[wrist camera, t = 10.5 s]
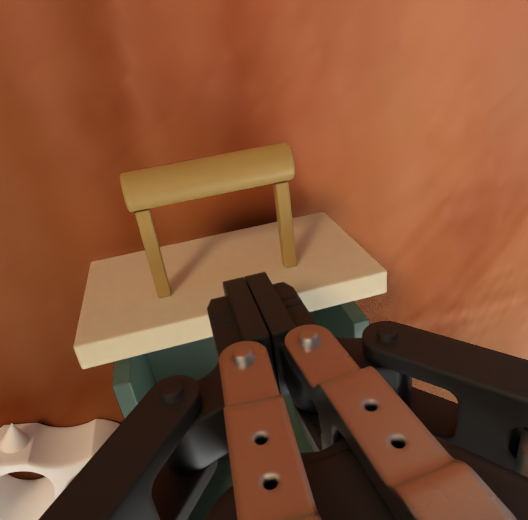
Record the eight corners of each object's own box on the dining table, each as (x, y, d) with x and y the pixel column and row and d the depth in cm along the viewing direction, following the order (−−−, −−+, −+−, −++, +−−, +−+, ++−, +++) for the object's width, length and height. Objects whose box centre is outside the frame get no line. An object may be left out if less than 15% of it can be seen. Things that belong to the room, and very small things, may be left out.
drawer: (54, 157, 22) (16, 212, 15) (317, 110, 24) (388, 139, 17) (163, 472, 33) (170, 586, 26) (337, 420, 35) (386, 513, 28)
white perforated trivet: (-80, 590, 33) (-196, 457, 27) (164, 515, 36) (115, 378, 30) (-100, 643, 31) (-237, 508, 24) (166, 557, 34) (112, 416, 27)
